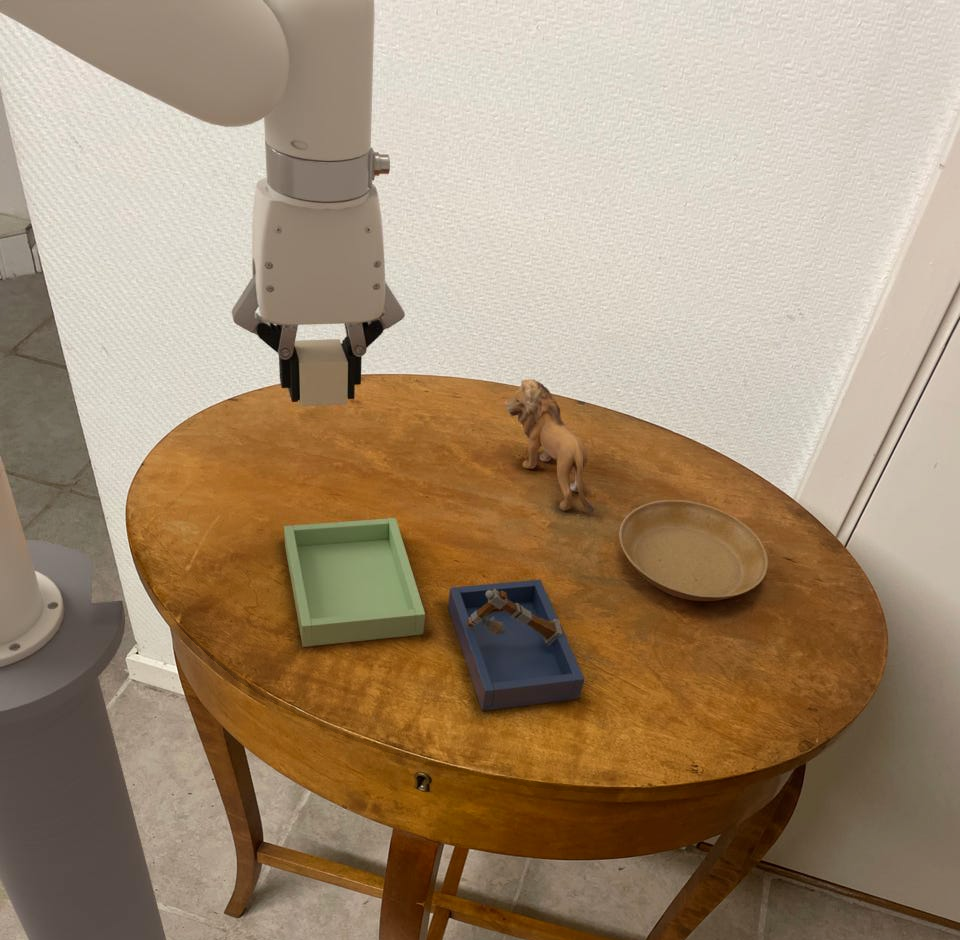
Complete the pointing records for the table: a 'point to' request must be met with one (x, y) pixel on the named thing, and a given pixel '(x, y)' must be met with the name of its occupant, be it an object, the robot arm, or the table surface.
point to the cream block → (322, 372)
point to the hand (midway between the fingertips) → (320, 390)
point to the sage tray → (352, 582)
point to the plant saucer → (693, 550)
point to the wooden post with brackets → (521, 614)
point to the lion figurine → (550, 437)
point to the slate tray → (514, 649)
